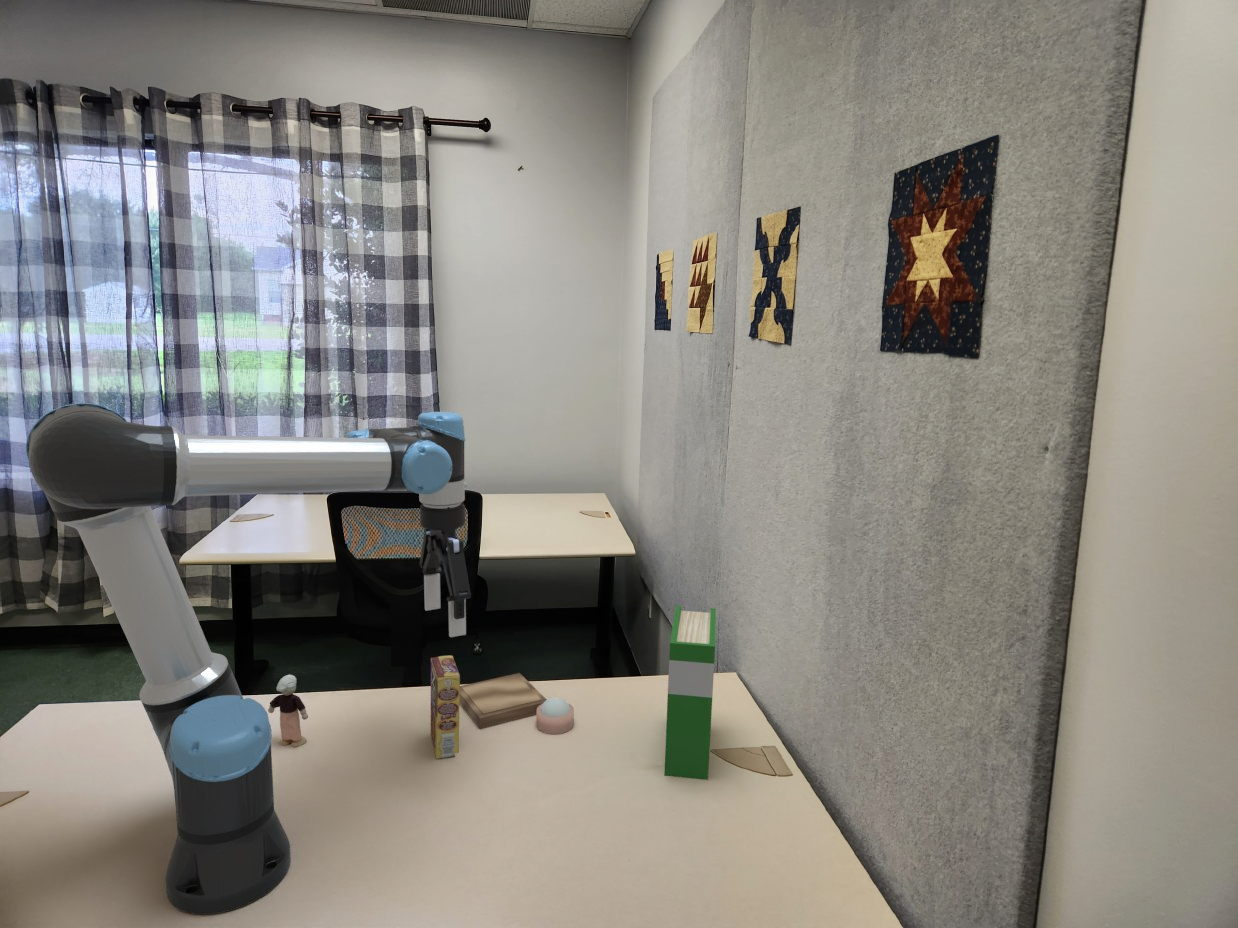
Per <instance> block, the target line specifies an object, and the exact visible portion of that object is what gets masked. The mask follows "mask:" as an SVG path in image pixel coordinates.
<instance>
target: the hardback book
mask: <svg viewBox="0 0 1238 928" xmlns="http://www.w3.org/2000/svg"><path fill="white" fill-rule="evenodd" d="M716 611H717V609H716V608H715V607H714V608H712V607H711V608H710V612H704V611H691V610H689V611H688V610H682V606H681V605H676V606H675V610H674V616H673V621H672V627H671V634H670V640H669V641H670V642H669V656H668V659H669V661H668V680H667V681H668V683H667V685H668V686H667V700H666V701H667V702H666V703H667V704H666V726H665V729H666V730H665V748H664V751H665V752H664V753H665V754H664V777H673V778H674V777H675V778H676V777H677V778H684V779H695V780H701V781H703V780H704V781H708V780H709V765H710V764H709V763H710V746H711V729H712V711H713V709H712V708H713V692H714V674H715V656H716V654H715V653H716V623H717V619H716V617H717V615H716V614H717V612H716Z"/></svg>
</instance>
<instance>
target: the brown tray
mask: <svg viewBox="0 0 1238 928" xmlns="http://www.w3.org/2000/svg"><path fill="white" fill-rule="evenodd" d="M546 700H548V699H547V698H546V697H545V696H544V695H543V694H541V692H540V691H538V689H537V688H535V686H534V685H532V683H530V682H529V681H528V680H527V679H526V678H525V676H523V675H522V673H520V672H517V673H512V674H509V675H504V676H499V677H496V678H491V679H486V680H481V681H477V682H473V683H468V684H463V685H460V699H459V705H460V706H461V707H462V709H464V711H465V712H466V713H467V715H468V716H469V717H470V718H471V720H472V721H473V722H474V723H475V724H476V726H477V727H478V729H479V730H484V729H487V728H491V727H496V726H499V725H503V724H507V723H512V722H516V721H519V720H522V719H526V718H529V717H530V718H531V717H534V716H537V708H538V706H539V705H541V704H543V703H544V702H545V701H546Z"/></svg>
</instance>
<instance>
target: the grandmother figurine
mask: <svg viewBox="0 0 1238 928" xmlns="http://www.w3.org/2000/svg"><path fill="white" fill-rule="evenodd" d="M296 689H297V677H296V676H295V675H293V674H287V675H284V676H283V677H282V678H280V680H279V681H278V683H277V686H276V691H277V692H280V693H281V694H279V695H277V696H275V697H274V698H272V700H271V701H270V702H269V708H268V709H267V712H268V714H269V713H270V714H273V713H274V712H275V709H277V708H279V712H280V713H279V714H280V715H279V727H280V734H281V735H280V736H281V740H280V742H279V745H280V746H287V745H289V744H290V746H291V747H293V748H295V747H296V748H297V747H300V746H302V745H305V744H306V743H307V741H308V740H307V738H306V737H305V736H302V730H301V723H300V722H301V721H300V720H301V719H302V720H307V719H308V718H309V714H308V713H307V709H306V706H305V704H304V703H303V701H302V699H301V697H300V696H298V695H296V694H294V693H295V692H296ZM300 716H301V719H300Z"/></svg>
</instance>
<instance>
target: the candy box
mask: <svg viewBox="0 0 1238 928" xmlns="http://www.w3.org/2000/svg"><path fill="white" fill-rule="evenodd" d="M460 686H461V675H460V672H459V670H458V667H457V665H456V661H455V659H454V656H453V655H440V656H436V657H430V738H431V742H432V745H433V750H434V756H435V759H437V760H438V759H446V758H452V757H456V755H455V754H458V753H459V750H460V749H459V747H460V703H459V699H460Z"/></svg>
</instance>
